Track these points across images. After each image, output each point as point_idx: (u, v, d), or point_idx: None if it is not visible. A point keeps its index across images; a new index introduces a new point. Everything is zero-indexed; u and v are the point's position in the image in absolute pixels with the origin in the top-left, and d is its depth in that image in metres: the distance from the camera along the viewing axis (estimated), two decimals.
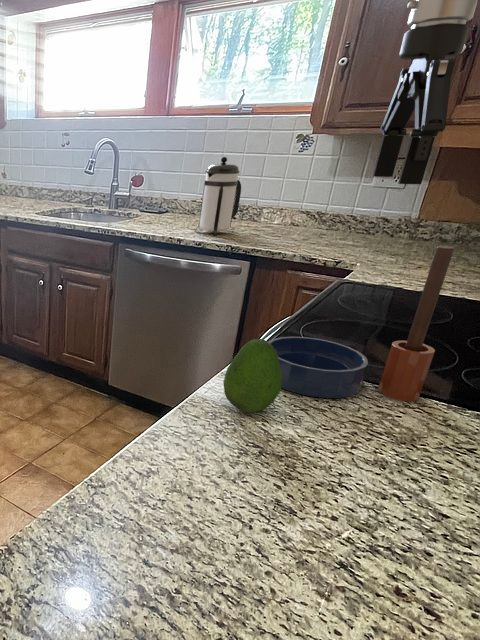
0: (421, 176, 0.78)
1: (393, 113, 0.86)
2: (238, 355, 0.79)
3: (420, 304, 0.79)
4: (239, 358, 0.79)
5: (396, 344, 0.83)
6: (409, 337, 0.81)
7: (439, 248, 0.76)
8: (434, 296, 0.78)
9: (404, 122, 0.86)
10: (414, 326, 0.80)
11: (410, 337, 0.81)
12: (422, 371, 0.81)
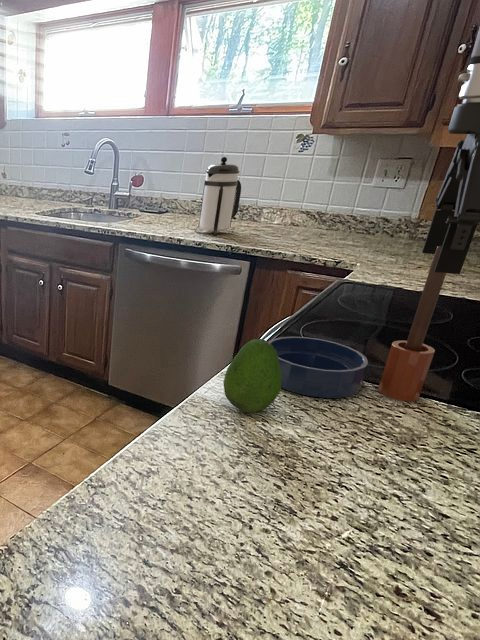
0: (460, 266, 0.70)
1: (445, 188, 0.77)
2: (238, 355, 0.79)
3: (420, 304, 0.79)
4: (239, 358, 0.79)
5: (396, 344, 0.83)
6: (409, 337, 0.81)
7: (439, 248, 0.76)
8: (434, 296, 0.78)
9: None
10: (414, 326, 0.80)
11: (410, 337, 0.81)
12: (422, 371, 0.81)
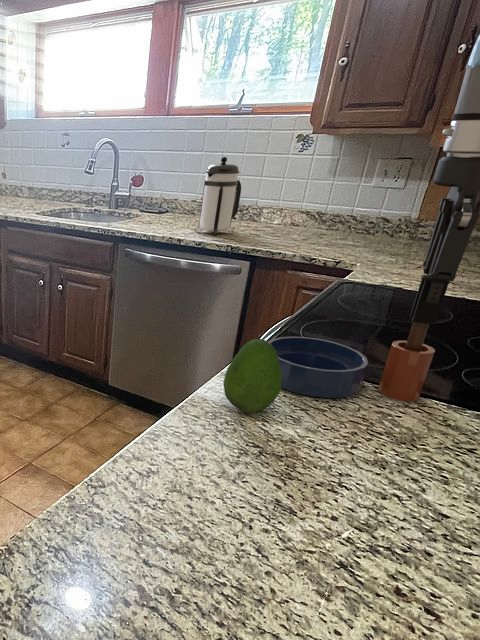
0: (435, 317, 0.78)
1: (432, 246, 0.78)
2: (238, 355, 0.79)
3: None
4: (239, 358, 0.79)
5: (396, 344, 0.83)
6: (409, 337, 0.81)
7: None
8: None
9: None
10: (414, 326, 0.80)
11: (410, 337, 0.81)
12: (422, 371, 0.81)
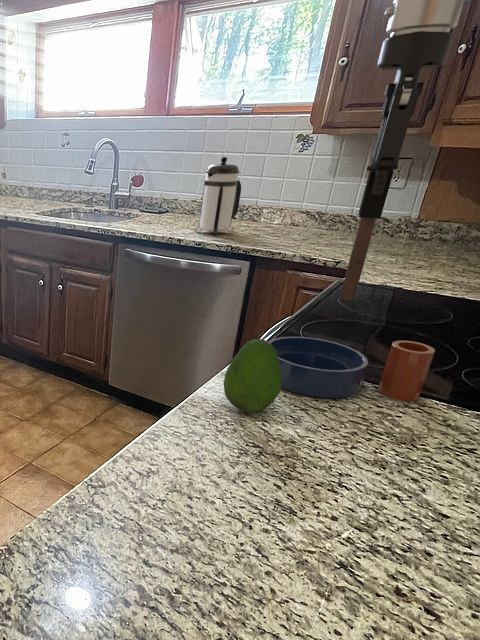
0: (380, 210, 0.76)
1: (379, 138, 0.76)
2: (238, 355, 0.79)
3: None
4: (239, 358, 0.79)
5: (396, 344, 0.83)
6: (357, 235, 0.80)
7: None
8: None
9: None
10: (361, 223, 0.79)
11: (357, 235, 0.80)
12: (422, 371, 0.81)
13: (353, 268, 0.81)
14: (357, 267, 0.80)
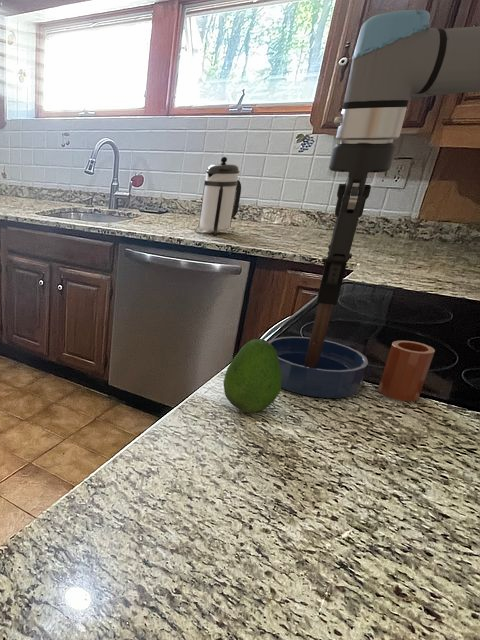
0: (336, 298, 0.81)
1: (334, 230, 0.81)
2: (238, 355, 0.79)
3: None
4: (239, 358, 0.79)
5: (396, 344, 0.83)
6: (316, 318, 0.85)
7: None
8: None
9: None
10: (319, 307, 0.84)
11: (316, 318, 0.85)
12: (422, 371, 0.81)
13: (313, 348, 0.86)
14: (316, 347, 0.85)
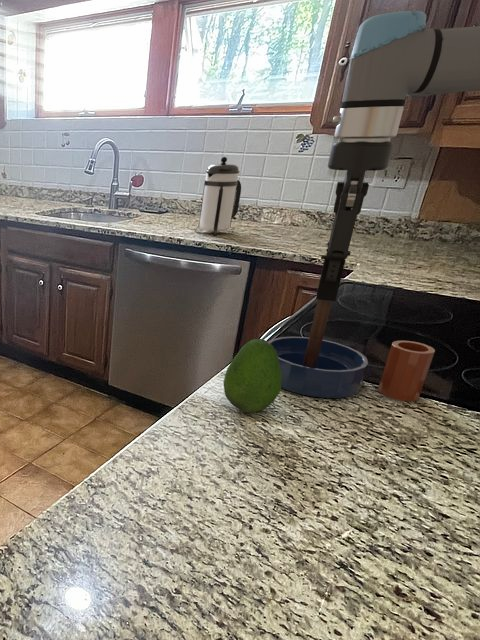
0: (335, 294, 0.83)
1: (332, 228, 0.83)
2: (238, 355, 0.79)
3: None
4: (239, 358, 0.79)
5: (396, 344, 0.83)
6: (315, 314, 0.86)
7: None
8: None
9: None
10: (318, 303, 0.85)
11: (315, 314, 0.86)
12: (422, 371, 0.81)
13: (312, 344, 0.87)
14: (316, 343, 0.87)
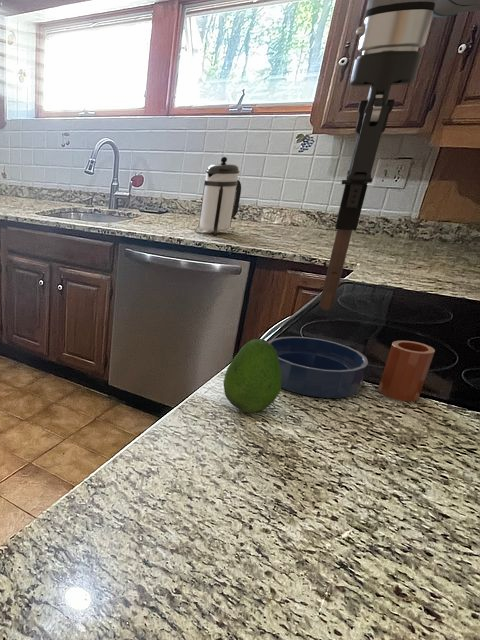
0: (356, 223, 0.78)
1: (353, 152, 0.78)
2: (238, 355, 0.79)
3: None
4: (239, 358, 0.79)
5: (396, 344, 0.83)
6: (333, 246, 0.82)
7: None
8: None
9: None
10: (338, 234, 0.81)
11: (334, 246, 0.82)
12: (422, 371, 0.81)
13: (331, 278, 0.83)
14: (334, 277, 0.82)
